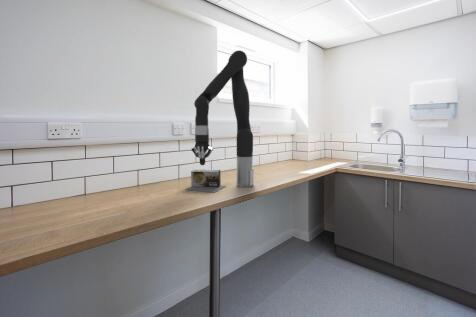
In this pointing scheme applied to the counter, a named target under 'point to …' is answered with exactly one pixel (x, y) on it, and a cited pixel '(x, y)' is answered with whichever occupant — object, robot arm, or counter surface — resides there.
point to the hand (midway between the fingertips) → (202, 165)
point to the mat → (206, 189)
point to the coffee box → (205, 178)
